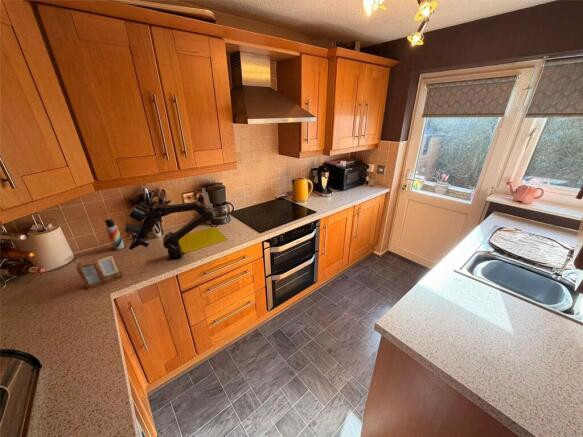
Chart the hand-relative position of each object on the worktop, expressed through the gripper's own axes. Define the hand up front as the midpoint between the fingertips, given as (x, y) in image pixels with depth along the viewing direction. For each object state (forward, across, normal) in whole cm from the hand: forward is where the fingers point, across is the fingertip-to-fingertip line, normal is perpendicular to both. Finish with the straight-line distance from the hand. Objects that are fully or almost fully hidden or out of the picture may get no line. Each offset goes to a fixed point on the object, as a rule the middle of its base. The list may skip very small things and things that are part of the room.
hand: (129, 249), depth 122 cm
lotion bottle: (+13, -31, +5) cm, 34 cm away
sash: (+16, 0, 0) cm, 16 cm away
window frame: (+19, +1, -2) cm, 19 cm away
